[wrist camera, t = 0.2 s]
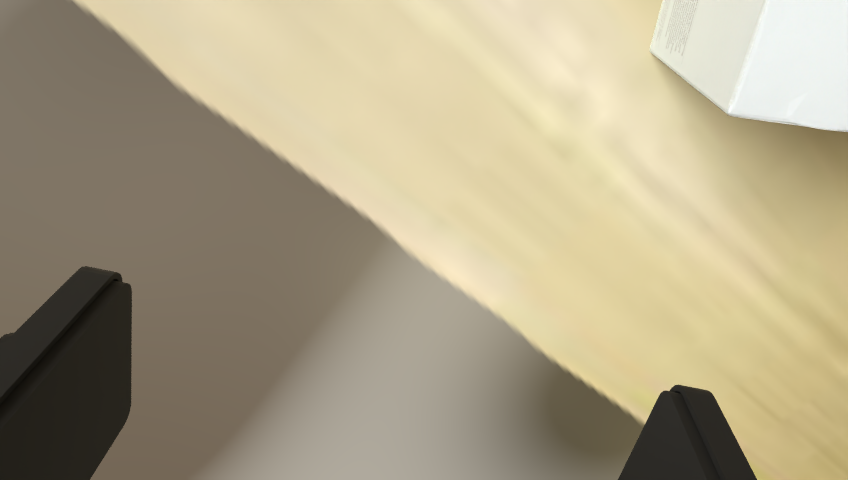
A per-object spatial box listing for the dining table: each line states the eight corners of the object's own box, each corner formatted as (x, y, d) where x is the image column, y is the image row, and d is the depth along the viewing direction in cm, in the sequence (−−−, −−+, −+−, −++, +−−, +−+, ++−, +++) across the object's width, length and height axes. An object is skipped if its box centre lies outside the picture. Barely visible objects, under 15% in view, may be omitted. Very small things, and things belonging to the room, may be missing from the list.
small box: (824, -50, 36) (1001, -22, 24) (782, 68, 38) (921, 143, 27) (675, -68, 35) (781, -48, 24) (644, 52, 38) (725, 120, 27)
